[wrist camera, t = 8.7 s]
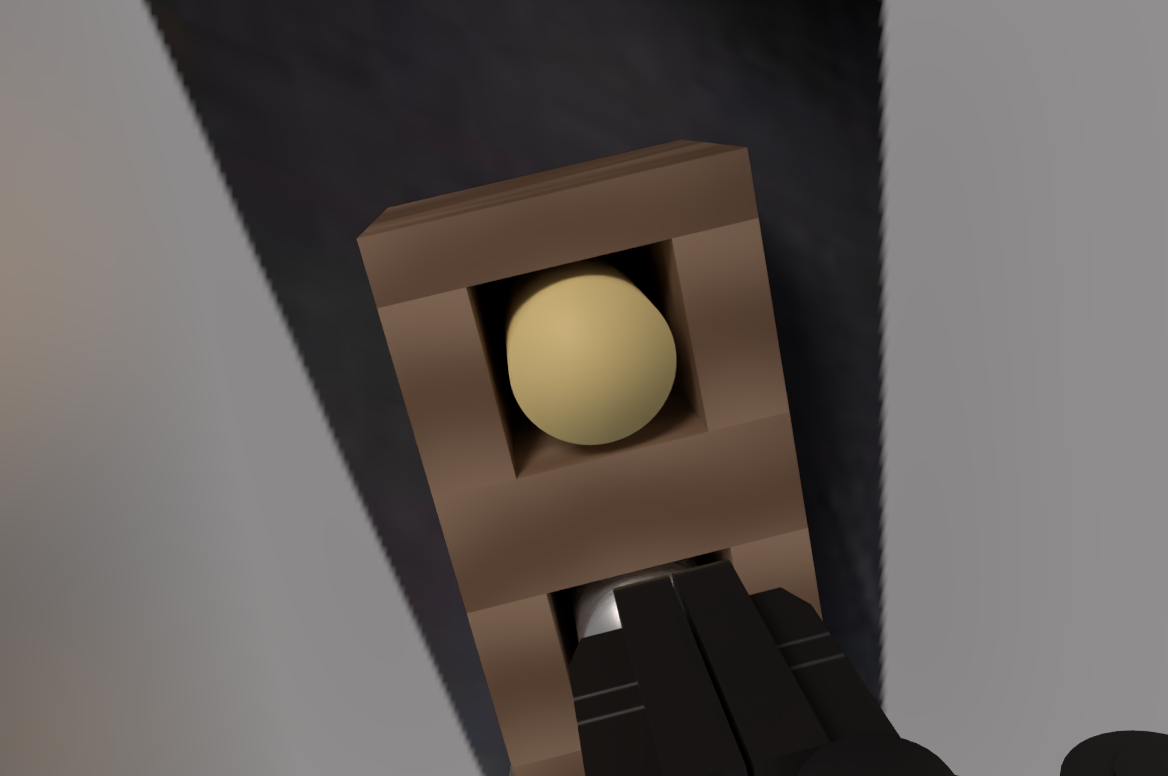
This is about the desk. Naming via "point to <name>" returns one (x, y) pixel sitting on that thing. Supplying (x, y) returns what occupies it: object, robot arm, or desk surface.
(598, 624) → the steel peg
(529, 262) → the socket block
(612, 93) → the desk surface
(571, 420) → the mustard peg
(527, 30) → the desk surface
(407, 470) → the desk surface
